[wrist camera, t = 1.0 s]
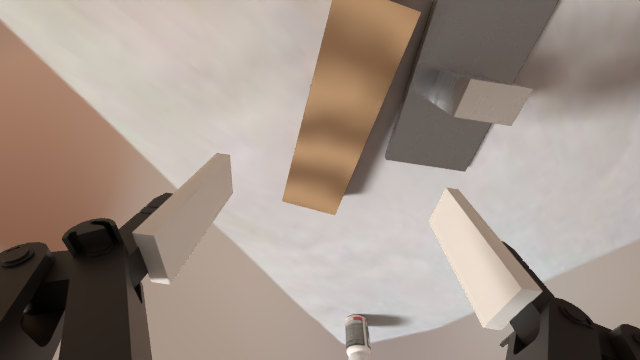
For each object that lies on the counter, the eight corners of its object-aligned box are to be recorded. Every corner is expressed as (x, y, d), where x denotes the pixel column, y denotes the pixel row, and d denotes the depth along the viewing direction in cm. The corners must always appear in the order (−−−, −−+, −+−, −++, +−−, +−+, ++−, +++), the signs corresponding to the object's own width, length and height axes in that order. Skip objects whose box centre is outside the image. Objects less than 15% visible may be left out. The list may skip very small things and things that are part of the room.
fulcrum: (444, -31, 20) (490, -61, 14) (556, -12, 20) (649, -34, 14) (384, 155, 29) (397, 185, 23) (461, 167, 29) (493, 200, 23)
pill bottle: (341, 320, 50) (341, 367, 43) (354, 311, 48) (357, 358, 41) (358, 327, 52) (361, 374, 44) (371, 319, 49) (377, 366, 42)
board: (336, -9, 21) (337, -19, 17) (406, 16, 22) (421, 12, 18) (288, 182, 33) (282, 201, 29) (335, 194, 33) (335, 215, 30)
